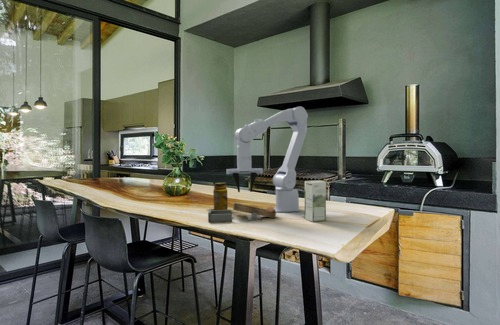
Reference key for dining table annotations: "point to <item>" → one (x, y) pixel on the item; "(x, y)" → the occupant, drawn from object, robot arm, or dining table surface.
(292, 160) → the robot arm
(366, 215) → the dining table surface
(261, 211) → the lever
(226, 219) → the tray
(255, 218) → the fulcrum
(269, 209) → the ball
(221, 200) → the condiment
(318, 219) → the syrup box
